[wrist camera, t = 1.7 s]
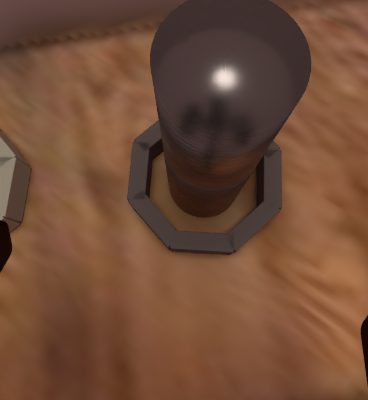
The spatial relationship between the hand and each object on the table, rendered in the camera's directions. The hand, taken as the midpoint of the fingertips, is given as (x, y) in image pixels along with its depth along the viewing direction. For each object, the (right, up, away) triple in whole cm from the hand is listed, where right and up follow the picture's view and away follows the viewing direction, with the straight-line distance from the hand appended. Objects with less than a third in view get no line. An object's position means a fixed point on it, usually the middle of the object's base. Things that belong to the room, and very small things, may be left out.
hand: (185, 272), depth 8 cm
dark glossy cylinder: (+1, +3, +13) cm, 14 cm away
